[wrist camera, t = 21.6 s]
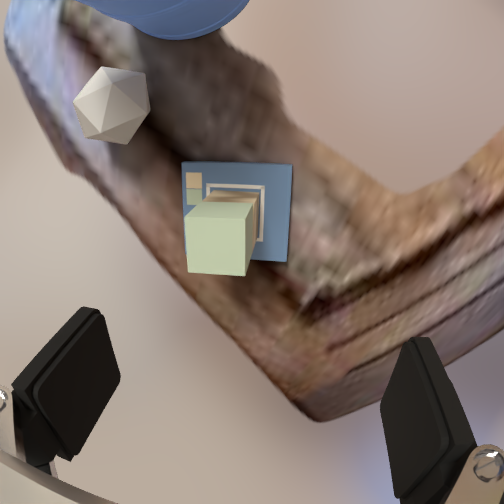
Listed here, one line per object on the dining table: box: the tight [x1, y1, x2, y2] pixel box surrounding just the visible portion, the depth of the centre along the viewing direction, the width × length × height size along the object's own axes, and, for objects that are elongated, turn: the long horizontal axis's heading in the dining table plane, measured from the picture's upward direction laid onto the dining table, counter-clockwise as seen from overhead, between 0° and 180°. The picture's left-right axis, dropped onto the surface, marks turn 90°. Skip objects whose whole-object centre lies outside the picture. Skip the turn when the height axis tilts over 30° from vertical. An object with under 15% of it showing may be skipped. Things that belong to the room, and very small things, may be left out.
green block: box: [184, 202, 253, 276], centre depth 29 cm, size 5×5×5 cm
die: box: [73, 67, 151, 145], centre depth 30 cm, size 8×9×10 cm
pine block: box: [202, 190, 259, 253], centre depth 34 cm, size 5×5×5 cm
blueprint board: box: [182, 161, 292, 262], centre depth 36 cm, size 12×11×1 cm
